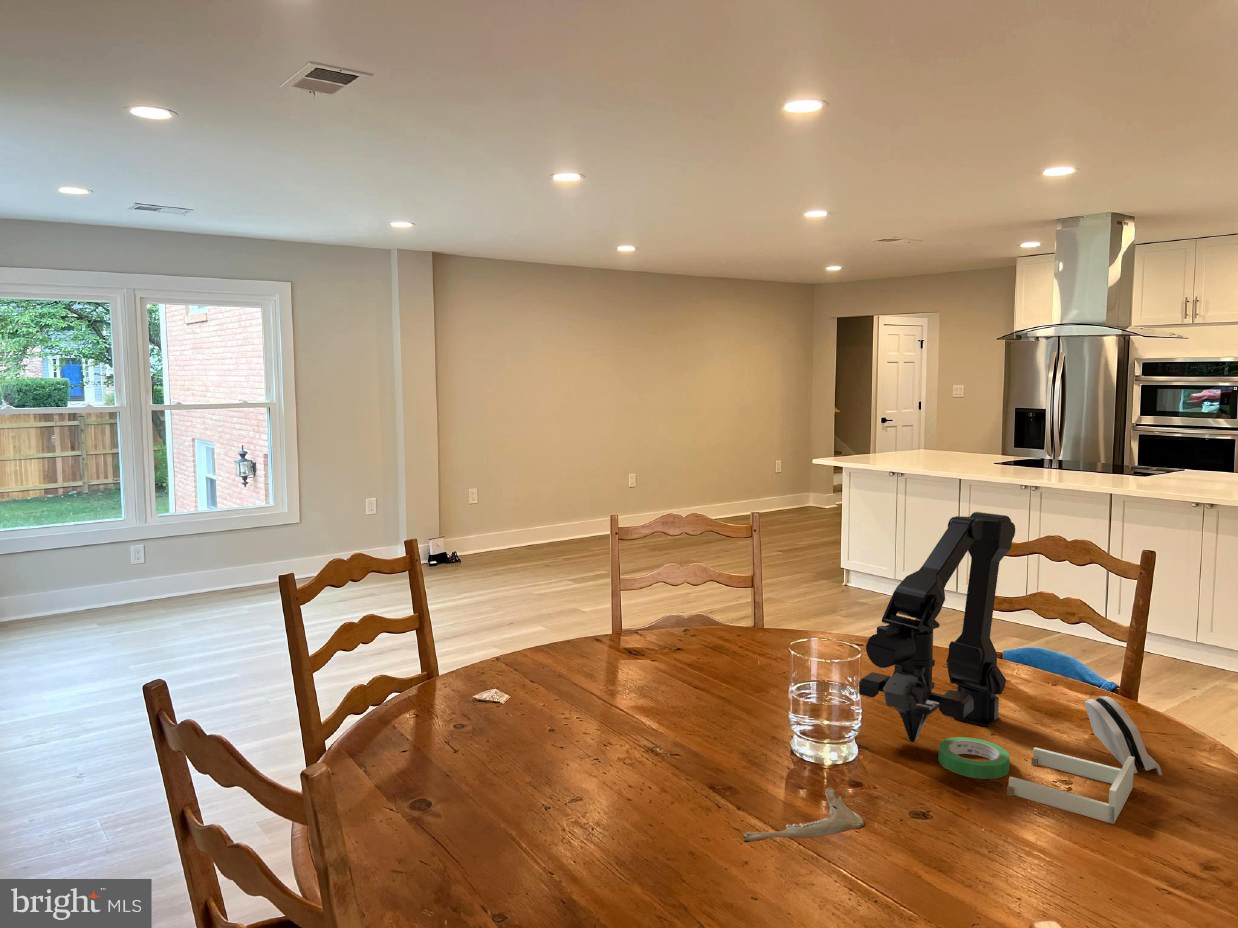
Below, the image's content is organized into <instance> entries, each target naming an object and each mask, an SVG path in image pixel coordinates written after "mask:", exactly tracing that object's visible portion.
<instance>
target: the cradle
mask: <svg viewBox="0 0 1238 928" xmlns="http://www.w3.org/2000/svg"><path fill="white" fill-rule="evenodd" d="M1134 759H1135V757H1132V756H1128V758H1127V760H1126V762H1125V763H1124V765H1122V767H1121V768H1119V767H1115V766H1111V765H1106V764H1103V763H1099V762H1095V761H1091V760H1087V759H1083V758H1078V757H1074V756H1071V755H1067V754H1064V753H1063V754H1062V753H1059V752H1055V751H1052V750H1046V749H1045V748H1044V749H1043V748H1040V747H1035V746H1034V747H1033V752H1032V757H1031V765H1032V766H1035V767H1037V766H1043V767H1047V768H1051V769H1054V770H1058V771H1062V772H1066V773H1070V774H1073V775H1075V776H1081V777H1085V778H1088V779H1092V780H1096V781H1099V782H1103V783H1108V784H1110V785H1111V786H1110V788H1109V791H1108V802H1103V801H1100V800H1096V799H1093V798H1090V797H1087V796H1082V795H1079V794H1075V793H1071V792H1068V791H1065V790H1061V789H1057V788H1053V787H1050V786H1046V785H1042V784H1039V783H1035V782H1032V781H1028V780H1026V779H1025V780H1024V779H1021V778H1018V777H1014V776H1009V777H1008V786H1006V796H1008V797H1011V798H1012V797H1014V796H1016V797H1020V798H1023V799H1026V800H1030V801H1033V802H1037V803H1040V804H1043V805H1047V806H1050V807H1053V808H1057V809H1060V810H1063V811H1067V812H1071V813H1074V814H1078V815H1082V816H1086V817H1088V818H1092V819H1095V820H1099V821H1102V822H1105V823H1109V824H1113V825H1114V824H1115V823H1116V820H1117V819H1118V817H1119V816H1120V813H1121V811H1122V810H1123V807H1124V806H1125V803H1126V802H1127V800H1128V797H1129V796H1130V794H1131V792H1132V791H1133V788H1134V777H1135V776H1134V774H1135V773H1134Z"/></svg>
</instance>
